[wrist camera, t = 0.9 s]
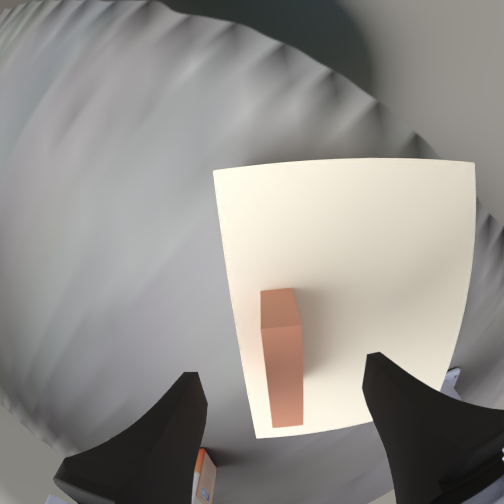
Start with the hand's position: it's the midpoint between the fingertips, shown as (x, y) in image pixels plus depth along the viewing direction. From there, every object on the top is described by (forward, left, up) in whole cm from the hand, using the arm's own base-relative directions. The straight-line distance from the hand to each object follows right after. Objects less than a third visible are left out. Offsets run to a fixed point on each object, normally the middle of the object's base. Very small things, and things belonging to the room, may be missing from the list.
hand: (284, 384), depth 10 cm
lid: (0, -5, -4) cm, 6 cm away
